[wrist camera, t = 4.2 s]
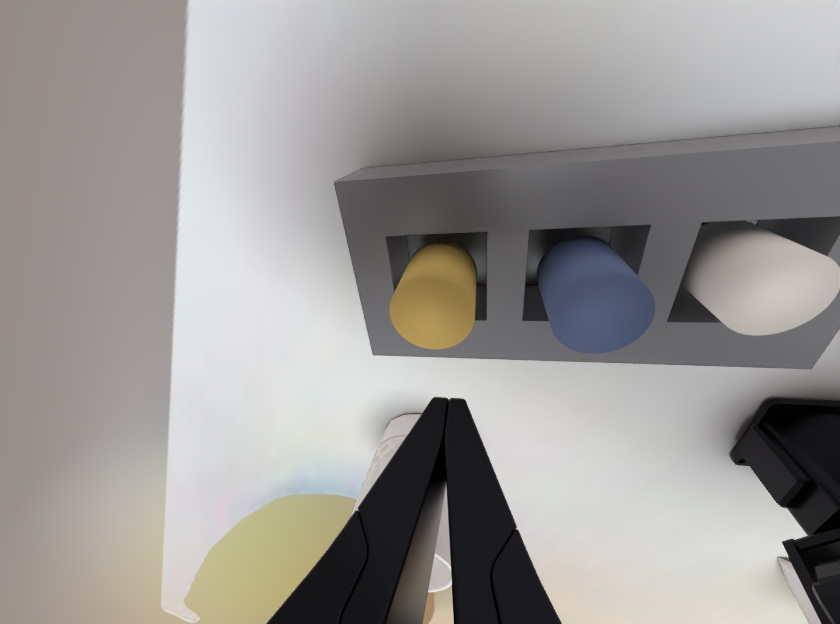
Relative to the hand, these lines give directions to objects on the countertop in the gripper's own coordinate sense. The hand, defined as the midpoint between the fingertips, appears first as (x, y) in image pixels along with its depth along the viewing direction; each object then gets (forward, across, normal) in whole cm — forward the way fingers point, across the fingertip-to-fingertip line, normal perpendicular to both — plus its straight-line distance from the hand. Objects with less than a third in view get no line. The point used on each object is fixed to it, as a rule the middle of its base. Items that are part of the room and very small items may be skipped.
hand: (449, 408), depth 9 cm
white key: (+11, -12, 0) cm, 16 cm away
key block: (+12, -6, 0) cm, 14 cm away
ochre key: (+9, +1, +1) cm, 9 cm away
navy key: (+9, -5, 0) cm, 11 cm away
